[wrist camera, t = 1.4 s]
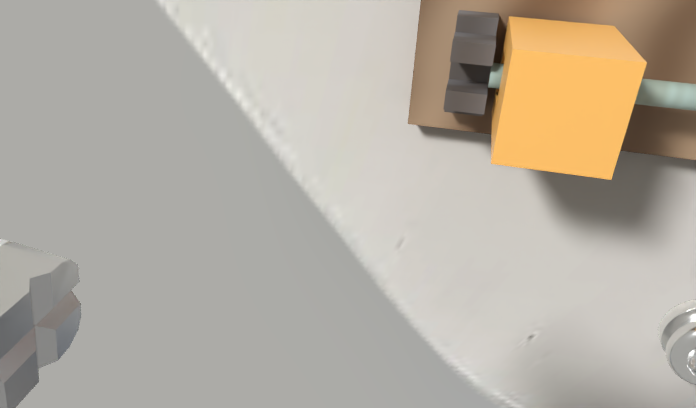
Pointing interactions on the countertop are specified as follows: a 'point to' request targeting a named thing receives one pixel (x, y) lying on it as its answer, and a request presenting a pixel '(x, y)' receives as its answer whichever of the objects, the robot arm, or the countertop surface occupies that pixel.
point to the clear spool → (680, 339)
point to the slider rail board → (560, 5)
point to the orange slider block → (564, 97)
